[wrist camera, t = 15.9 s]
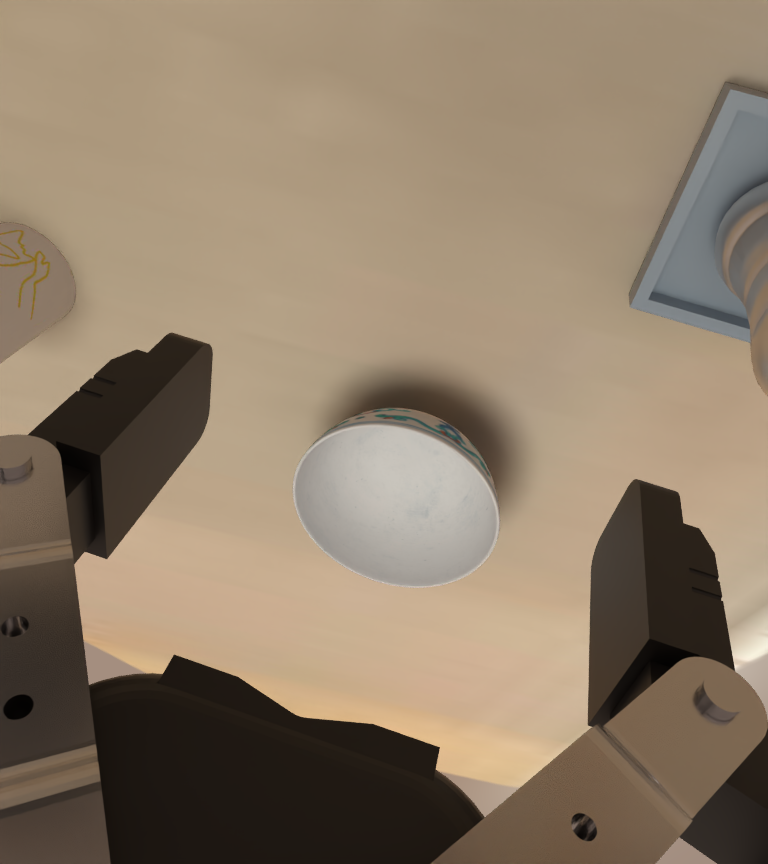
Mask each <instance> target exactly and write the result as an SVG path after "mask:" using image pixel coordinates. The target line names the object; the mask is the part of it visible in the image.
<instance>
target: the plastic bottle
mask: <svg viewBox="0 0 768 864" xmlns="http://www.w3.org/2000/svg"><path fill="white" fill-rule="evenodd" d="M714 257H715V265H716V268H717V271H718V274H719V276H720V277H721V279H722V280H723V282H724V283H725V285H726V286H727V287H728V288H729V290H730V291H731V292H732V293H733V294H734V295H736V296H737V297H738V298H739V299H740V300H741V302H742V304H743V305H744V307H745V309H746V312H747V317H748V321H749V325H750V343H751V360H752V365H753V371H754V374H755V377H756V380H757V382H758V384H759V386H760V387H761V389H762V390H763V392H764V393H765V394H766V395H767V396H768V182H766V183H763V184H761V185H759V186H757V187H755V188H753V189H752V190H750V191H749V192H747V193H746V194H744V195H743V196H742V197H740V198H739V199H738V200H737V201H736V202H735V203H734V204H733V205H732V206H731V208H730V209H729V210H728V211H727V213H726V214H725V216H724V218H723V220H722V221H721V223H720V226H719V229H718V232H717V236H716V243H715V252H714Z"/></svg>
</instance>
